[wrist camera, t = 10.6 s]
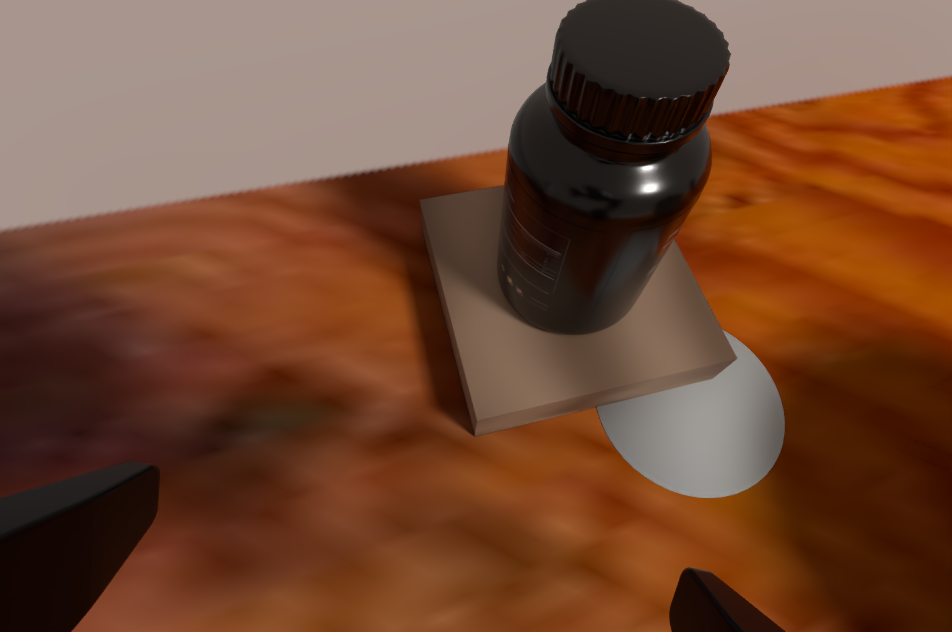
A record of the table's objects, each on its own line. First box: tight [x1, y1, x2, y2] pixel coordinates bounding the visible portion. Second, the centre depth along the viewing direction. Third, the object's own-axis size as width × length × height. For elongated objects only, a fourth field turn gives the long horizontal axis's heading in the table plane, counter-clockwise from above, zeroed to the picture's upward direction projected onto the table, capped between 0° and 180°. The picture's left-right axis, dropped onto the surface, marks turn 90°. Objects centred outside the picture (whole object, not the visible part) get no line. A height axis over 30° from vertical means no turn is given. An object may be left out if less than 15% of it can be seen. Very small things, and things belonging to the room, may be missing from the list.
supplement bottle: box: [497, 0, 731, 335], centre depth 19 cm, size 7×7×12 cm
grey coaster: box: [597, 331, 785, 498], centre depth 25 cm, size 9×9×1 cm
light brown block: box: [420, 186, 738, 437], centre depth 26 cm, size 12×12×2 cm
